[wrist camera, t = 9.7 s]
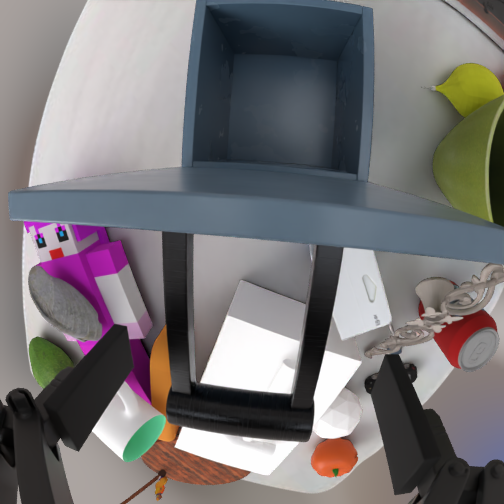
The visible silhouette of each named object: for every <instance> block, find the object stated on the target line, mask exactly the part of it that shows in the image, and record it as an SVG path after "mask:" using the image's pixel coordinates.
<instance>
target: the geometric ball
mask: <svg viewBox="0 0 504 504" xmlns="http://www.w3.org/2000/svg"><path fill="white" fill-rule="evenodd" d="M362 411H363V409H362V406H361V403H360V401H359V398H358V396H357V395H355V394H354V393H353V392H351V391H350V390H348V389H347V388H343V389H342V390H341V392H340V393H339V394H338V396H337V397H336V398H335V400H334V401H333V402H332V404H331V405H330V406H329V407H328V409H327V410H326V411H325V412H324V414H323V415H322V416H321V417H320V419H319V420H318V421H317V422H316V423H315V425H314V426H313V429H312V430H313V431H314V432H315V433H316V434H317V435H319V436H320V437H321V438H331V439H336V438H339V437H343V436H346V435H350V433H351V432H352V431H353V430H354V428H355V427H356V426H357V424H358V423H359V420H360V417H361V414H362Z"/></svg>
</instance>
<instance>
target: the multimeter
mask: <svg viewBox="0 0 504 504" xmlns="http://www.w3.org/2000/svg"><path fill="white" fill-rule="evenodd" d="M150 384H151V403H152V407H154V408H155V409H156V410H158V411H159V412H160V413H161V414H163V415H164V416H165V417H166V402H167V396H168V393H169V390H170V387H171V385H172V383H171V374H170V365H169V354H168V343H167V331H166V325H165V326H164V328H163V329H162V331H161V332H160V334H159V335H158V337H157V338H156V340H155V342H154V345H153V348H152V352H151V357H150ZM178 429H179V426H177V425H173V424H170V423H169V422H168V421H167V417H166V423H165V426H164V429H163V431H162V433H161V434H160V436H159V438H158V439H159V440H162V441H167V442H170V441H173V440H174V439H175V437H176V434H177V431H178Z"/></svg>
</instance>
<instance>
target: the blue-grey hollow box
mask: <svg viewBox="0 0 504 504" xmlns="http://www.w3.org/2000/svg"><path fill="white" fill-rule="evenodd" d="M373 107H374V24H373V9H372V8H369V7H364V6H360V5H355V4H349V3H343V2H337V1H330V0H196V7H195V14H194V21H193V29H192V37H191V45H190V54H189V64H188V74H187V85H186V97H185V111H184V126H183V144H182V167H197V168H222V169H241V170H256V171H270V172H282V173H293V174H304V175H314V176H323V177H332V178H340V179H348V180H355V181H363V182H368V176H369V166H370V154H371V142H372V127H373Z"/></svg>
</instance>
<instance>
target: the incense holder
mask: <svg viewBox="0 0 504 504" xmlns="http://www.w3.org/2000/svg"><path fill="white" fill-rule="evenodd" d="M177 440H178V437H175V439H174V440H173V441H170V442H167V441H162V440H159V439H157V440H156V442H155V443H154V444H153V445H152V446H151V448H150V449H149V450H148V451H146V452H145V453H144V454H143V455H142V456H141V457H142V460H143V461H144V463H145V464H146V465H147V466H148V467H149V468H150V469H152V470H153V471H155V472H156V473H158V476H156V477H155V478H153V479H152V480H151V481H150V482H148V483H147V484H146V485H145V486H143V487H142V488H141V489H139V490H138V491H137V492H136V493H134V494H133V495H132V496H130V497H129V498H128V499H126V500H125V501H124V502H122V503H121V504H126V503H127V502H129V501H130V500H131V499H133V498H134V497H135V496H137V495H138V494H139V493H140V492H142V491H143V490H145V489H146V488H147V487H148V486H150V485H151V484H152V483H153V482H155V481H156V480H157V479H158V478H159V480H160V481H159V482H157V483H156V491H155V494H156V496H157V498H156V500H157V501H158V500H160V499H161V498H162V496H161V494H162V493H163V491H164V489H165V487H164V485H165V484H166V482H167V480H168V479H167V478H170V479H173V480H176V481H180V482H185V483H191V484H201V485H215V484H225V483H230V482H233V481H237V480H240V479H242V478H244V477H245V476H247V475H248V474H249V473H250V472H251V471H247V470H243V469H240V468H236V467H232V466H229V465H226V464H222V463H219V462H216V461H213V460H210V459H206V458H203V457H201V456H198V455H195V454H192V453H189V452H186V451H184V450H181V449H178V448H176V447H175V445H176V442H177Z"/></svg>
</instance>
